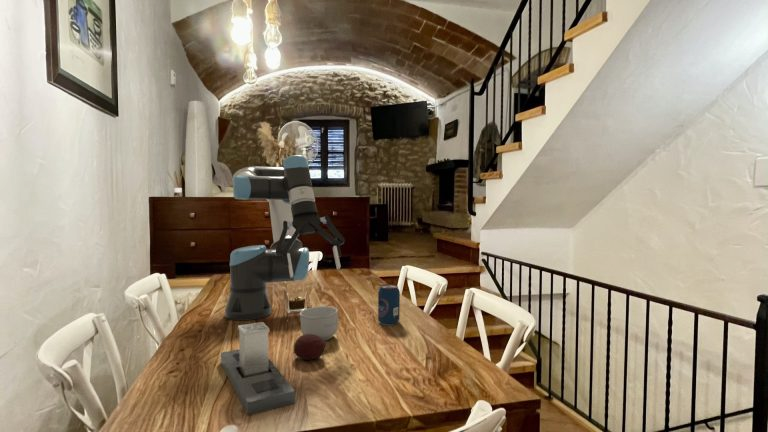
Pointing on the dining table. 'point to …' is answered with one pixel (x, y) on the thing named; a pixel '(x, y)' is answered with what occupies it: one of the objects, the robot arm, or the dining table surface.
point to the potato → (309, 346)
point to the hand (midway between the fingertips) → (315, 272)
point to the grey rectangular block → (253, 349)
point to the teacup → (319, 321)
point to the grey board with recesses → (258, 386)
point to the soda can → (388, 304)
